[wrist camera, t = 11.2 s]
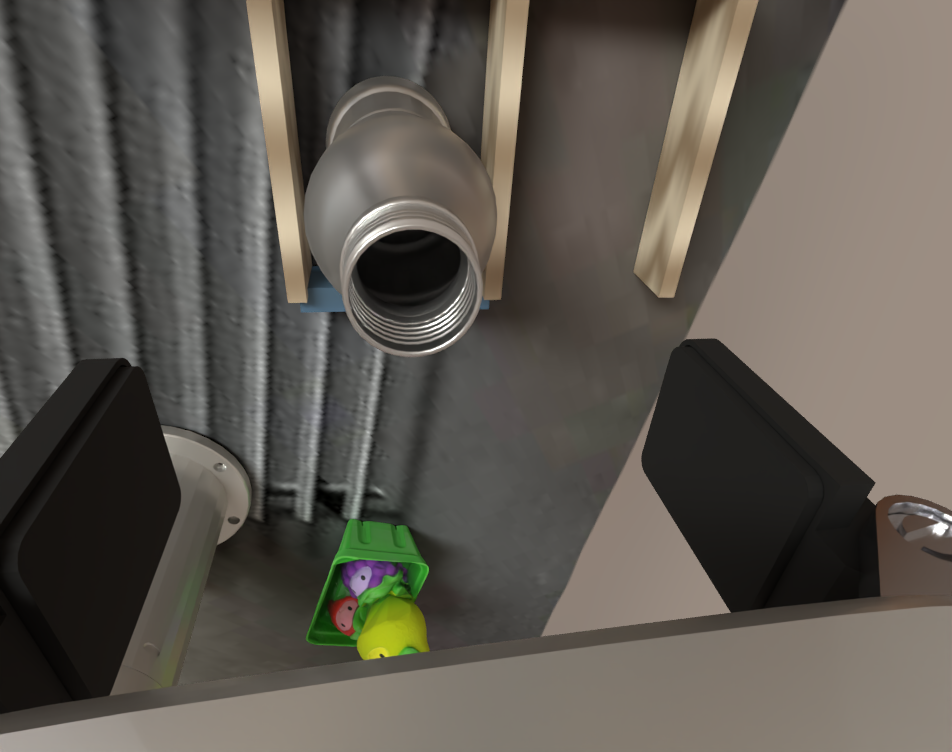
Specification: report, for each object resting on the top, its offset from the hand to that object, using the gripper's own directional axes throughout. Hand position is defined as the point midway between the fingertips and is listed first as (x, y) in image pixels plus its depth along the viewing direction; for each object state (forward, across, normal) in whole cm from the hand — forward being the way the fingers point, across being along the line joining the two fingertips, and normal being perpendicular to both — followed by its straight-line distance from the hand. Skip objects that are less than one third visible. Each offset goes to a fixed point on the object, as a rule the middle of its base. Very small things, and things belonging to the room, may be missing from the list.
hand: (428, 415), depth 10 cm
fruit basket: (+25, +2, +34) cm, 43 cm away
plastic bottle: (+25, 0, 0) cm, 25 cm away
